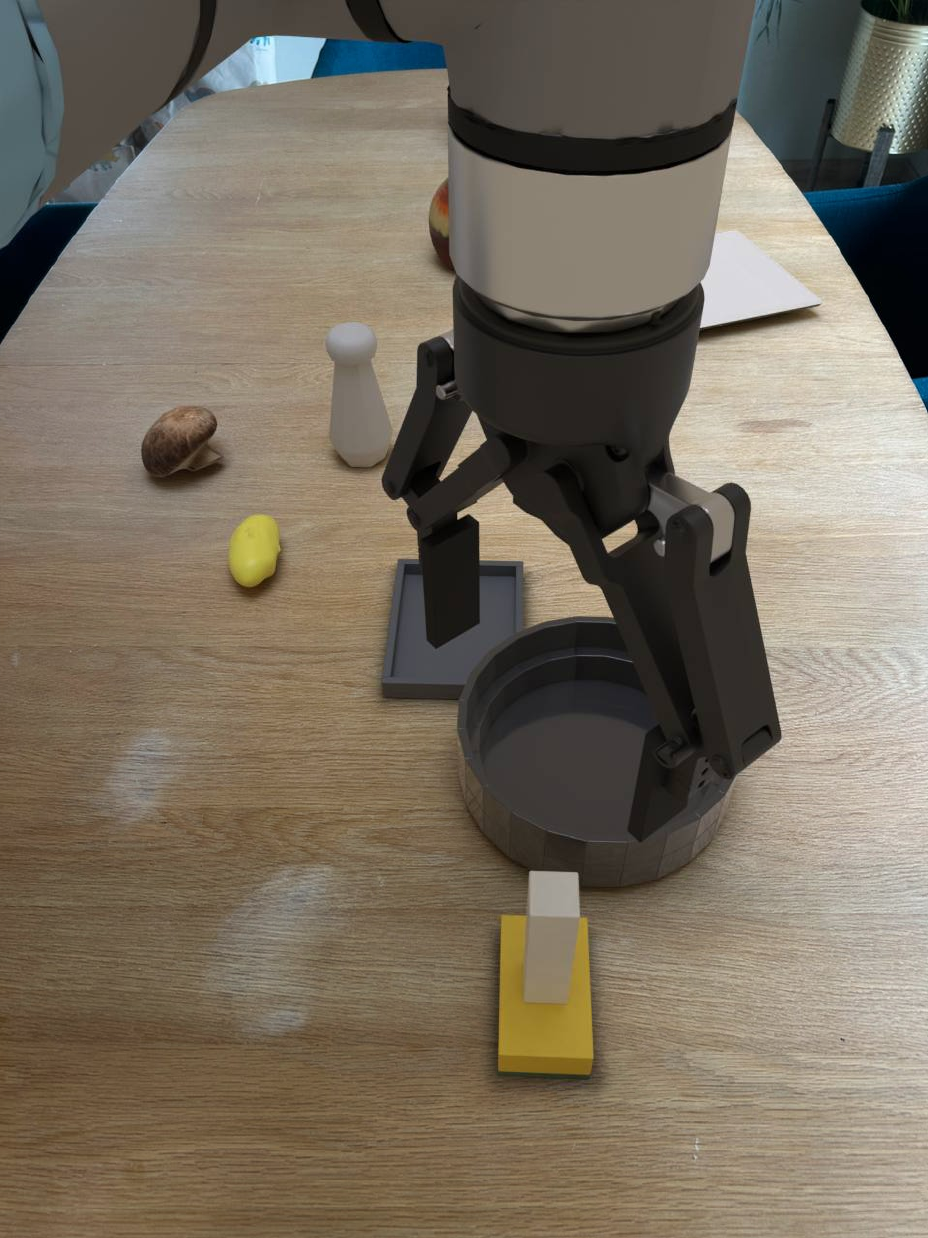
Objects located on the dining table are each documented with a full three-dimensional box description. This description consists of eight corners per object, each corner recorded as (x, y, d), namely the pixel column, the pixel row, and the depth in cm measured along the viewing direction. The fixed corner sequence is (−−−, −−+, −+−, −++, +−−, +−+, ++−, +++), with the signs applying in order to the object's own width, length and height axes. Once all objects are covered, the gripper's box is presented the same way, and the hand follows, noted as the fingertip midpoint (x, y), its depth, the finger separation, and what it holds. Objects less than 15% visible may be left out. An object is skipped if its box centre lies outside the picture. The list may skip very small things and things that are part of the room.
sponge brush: (589, 1079, 54) (611, 976, 45) (497, 1075, 55) (500, 971, 45) (583, 941, 60) (602, 823, 51) (500, 938, 60) (503, 820, 51)
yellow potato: (292, 535, 86) (285, 500, 83) (272, 601, 80) (264, 566, 78) (244, 533, 86) (236, 498, 83) (221, 599, 81) (211, 564, 78)
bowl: (404, 767, 69) (399, 712, 65) (584, 634, 77) (590, 579, 73) (601, 951, 60) (610, 902, 55) (782, 777, 68) (802, 723, 64)
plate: (666, 349, 106) (669, 331, 104) (594, 270, 118) (595, 253, 116) (820, 317, 110) (825, 300, 108) (734, 244, 122) (738, 227, 120)
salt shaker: (325, 444, 95) (307, 320, 85) (382, 430, 96) (371, 306, 87) (343, 479, 91) (327, 353, 82) (402, 464, 92) (393, 339, 83)
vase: (524, 239, 124) (528, 107, 112) (519, 283, 116) (523, 145, 105) (435, 236, 124) (431, 105, 113) (424, 280, 117) (418, 143, 106)
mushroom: (251, 440, 90) (200, 389, 87) (191, 505, 88) (137, 455, 85) (227, 437, 97) (178, 389, 94) (170, 497, 95) (119, 450, 92)
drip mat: (522, 701, 73) (522, 686, 72) (383, 697, 73) (381, 682, 72) (522, 575, 82) (523, 560, 81) (399, 573, 82) (397, 558, 81)
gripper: (1044, 411, 24) (827, 863, 40) (426, 119, 38) (443, 539, 53) (853, 543, 21) (698, 978, 36) (254, 172, 35) (324, 602, 50)
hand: (546, 718), depth 45 cm, fingers open, 13 cm apart
